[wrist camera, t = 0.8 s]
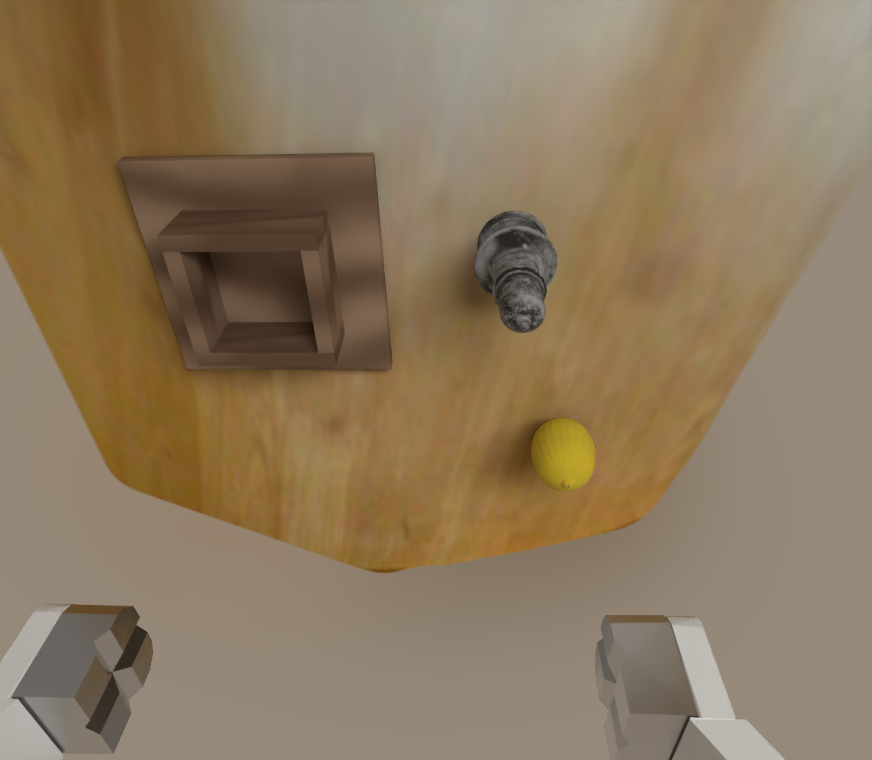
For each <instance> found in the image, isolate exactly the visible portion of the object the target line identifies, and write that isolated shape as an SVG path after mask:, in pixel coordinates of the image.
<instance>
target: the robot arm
mask: <svg viewBox="0 0 872 760" xmlns="http://www.w3.org/2000/svg"><path fill="white" fill-rule="evenodd" d="M139 618H140V616H139V615H138V613H137V611H136V610H135V608H134V607H133V606H109V605H77V604H43V605H42V606H41V607H39V608H38V609H37V610H36V611H34V613H33V614H32V615H31V617H30V618H29V620H28V621H27V623H26V624H25V626H24V627H23V629H22V630H21V632H20V633H19V635H18V636H17V638H16V639H15V641H14V643H13V644H12V646H11V647H10V649H9V650H8V652H7V653H6V655H5V656H4V658H3V659H2V661H1V662H0V760H61V759H62V758H63V757H64V755H63V753H81V754H85V753H86V754H87V753H88V754H93V753H94V754H95V753H96V754H100V753H101V754H109V753H110V754H111V753H112V754H113V753H114V751H115V749H116V747H117V744H118V742H119V740H120V738H121V736H122V733H123V731H124V729H125V726H126V724H127V722H128V720H129V717H130V715H131V709H130V704H129V700H128V699H130V698H131V697H132V696H133V695H134V694H135V693H136V692H137V691H138V690H140V689H141V688H142V687H143V685H144V683H145V681H146V678H147V676H148V673H149V671H150V667H151V661H152V655H153V648H152V640H151V638H150V636H149V634H148V632H147V631H145V630H143V629H142V628H140V627H139V626H137V625H136V624H137V622H138V620H139ZM601 630H602V636H603V639H602V640H600V641H599V642H597V648H596V653H595V673H596V681H597V688H598V694H599V699H600V700H601V702H602V703H603V704H604V705H605V706H606V707H607V709H608V714H607V718H606V722H605V726H604V728H605V734H606V739H607V744H608V750H609V755H610V760H785V759H784V758H783V757H782V756H781V755H780V754H779V753H778V752H777V751H776V750H775V749H774V748H773V747H772V746H771V745H770V744H769V743H768V742H767V740H766V739H764V738H763V737H762V735H760V733H759V732H758V731H756V729H755V728H754V727H753V726H752V725H751V724H750V723H749V722H748V721H747V720H746V719H739V718H736V717H735V715H734V712H733V709H732V706H731V703H730V701H729V698H728V695H727V692H726V690H725V687H724V684H723V682H722V678H721V676H720V673H719V670H718V667H717V664H716V662H715V659H714V656H713V653H712V650H711V647H710V645H709V642H708V639H707V637H706V634H705V631H704V628H703V625H702V623H701V622H700V621H699V620H698V618H696V617H693V616H692V617H690V616H663V615H606V616H605V617H604V618H603V620H602V624H601Z"/></svg>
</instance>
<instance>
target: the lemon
mask: <svg viewBox="0 0 872 760" xmlns="http://www.w3.org/2000/svg"><path fill="white" fill-rule="evenodd" d="M531 456H532V461H533V465H534V468H535V470H536V472H537V474H538V475H539V477H540V479H541V480H542V481H543V482H544V483H545V484H546V485H547V486H549V487H551V488H553V489H555V490H559V491H572V490H576V489H578V488H580V487H582V486H583V485H584V484H586V483H587V482H588V480H589V479H590V478H591V476H592V474H593V471H594V468H595V456H596V454H595V447H594V444H593V441H592V438H591V436H590V434H589V433H588V432H587V430H586V429H585V428H584V427H583V426H582V425H581V424H580V423H578V422H577V421H574V420H572V419H569V418H554V419H551V420H548V421H547V422H545V423H544V424H542V425H541V426H540V427H539V428H538V429H537V431H536V433H535V435H534V437H533V440H532V446H531Z"/></svg>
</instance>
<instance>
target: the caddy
mask: <svg viewBox="0 0 872 760" xmlns="http://www.w3.org/2000/svg"><path fill="white" fill-rule="evenodd" d="M117 162H118V165H119V168H120V171H121V174H122V177H123V180H124V183H125V186H126V189H127V192H128V195H129V198H130V201H131V204H132V207H133V210H134V213H135V216H136V219H137V222H138V225H139V228H140V231H141V234H142V237H143V240H144V242H145V245H146V248H147V251H148V254H149V257H150V260H151V263H152V266H153V269H154V272H155V275H156V278H157V281H158V284H159V287H160V290H161V293H162V296H163V299H164V302H165V305H166V308H167V311H168V314H169V317H170V320H171V323H172V325H173V328H174V331H175V334H176V337H177V340H178V343H179V346H180V349H181V352H182V355H183V358H184V361H185V364H186V367H187V369H391V367H392V353H391V342H390V330H389V319H388V307H387V296H386V285H385V273H384V262H383V250H382V239H381V227H380V216H379V204H378V193H377V182H376V170H375V159H374V153H331V154H275V155H218V156H161V157H123V158H122V159H120V160H119V161H117Z"/></svg>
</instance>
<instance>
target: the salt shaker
mask: <svg viewBox="0 0 872 760" xmlns="http://www.w3.org/2000/svg"><path fill="white" fill-rule="evenodd" d="M556 267H557V254H556V251H555V249H554V246H553V244H552V243H551V241H550V240H549V239H548V238H547V233H546V231H545V228H544V226H543V225H542V224H541V222H540V221H539V220H538V219H537V218H535V217H534V216H532V215H531V214H528V213H525V212H521V211H509V212H504V213H501V214H499V215H497V216H495V217H494V218H492V219H491V220H490V221H488V222H487V224H486V225H485V226H484V228H483V229H482V231H481V233H480V236H479V241H478V252H477V255H476V259H475V272H476V277H477V279H478V281H479V283H480V285H481V286H482V287H483V288H484V289H485V290H486V292H488V293H489V294H491V295H492V296H493V298H494V300H495V302H496V304H497V305H498V306H499V307H500V315H501V319H502V321H503V323H504V325H505V326H506V327H507V328H508V329H510V330H512V331H514V332H517V333H527V332H531V331H533V330H535V329H537V328H538V327H539V326H540V325H541V324H542V322H543V320H544V316H545V306H544V299H545V297H546V293H547V286H548V285H549V284H550V282H551V281H552V279H553V277H554V275H555V272H556Z"/></svg>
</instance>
